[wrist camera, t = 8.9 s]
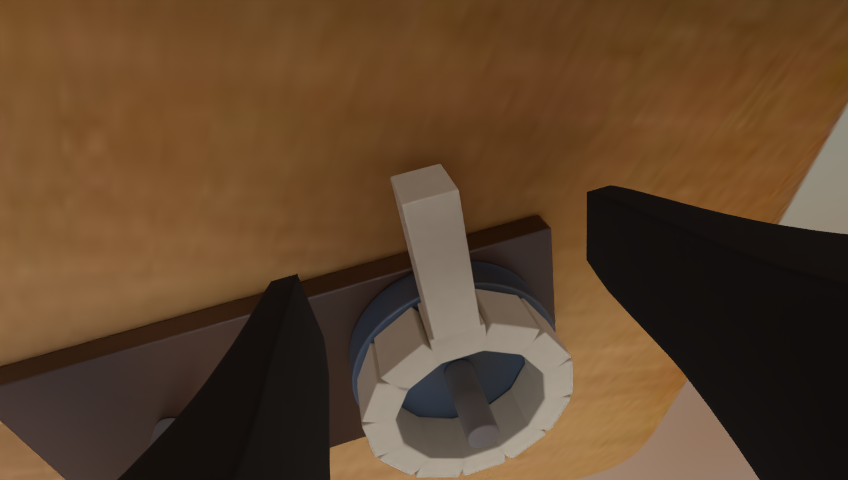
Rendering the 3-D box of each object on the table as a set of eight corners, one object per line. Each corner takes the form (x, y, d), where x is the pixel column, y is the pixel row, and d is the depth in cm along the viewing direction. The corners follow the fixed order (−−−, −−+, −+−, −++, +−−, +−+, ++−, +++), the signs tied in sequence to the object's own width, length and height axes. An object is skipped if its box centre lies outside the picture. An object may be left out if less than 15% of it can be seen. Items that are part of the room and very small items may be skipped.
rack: (116, 493, 22) (59, 650, 17) (-11, 369, 17) (-144, 535, 12) (547, 359, 24) (611, 464, 19) (538, 214, 19) (622, 302, 14)
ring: (385, 456, 20) (392, 500, 19) (284, 204, 13) (281, 237, 12) (553, 402, 21) (574, 440, 19) (539, 136, 14) (570, 158, 12)
